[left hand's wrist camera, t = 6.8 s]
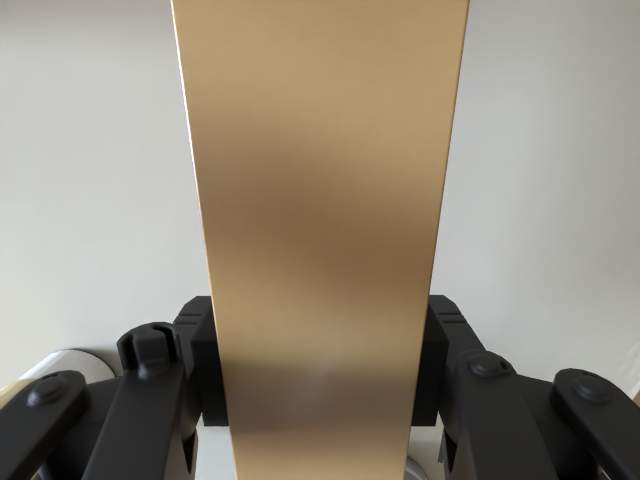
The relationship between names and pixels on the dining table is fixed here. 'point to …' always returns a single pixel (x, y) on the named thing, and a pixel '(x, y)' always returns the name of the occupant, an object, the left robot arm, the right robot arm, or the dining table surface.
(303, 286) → the bar
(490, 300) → the dining table surface
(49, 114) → the dining table surface
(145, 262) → the dining table surface
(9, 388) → the coffee cup
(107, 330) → the dining table surface
